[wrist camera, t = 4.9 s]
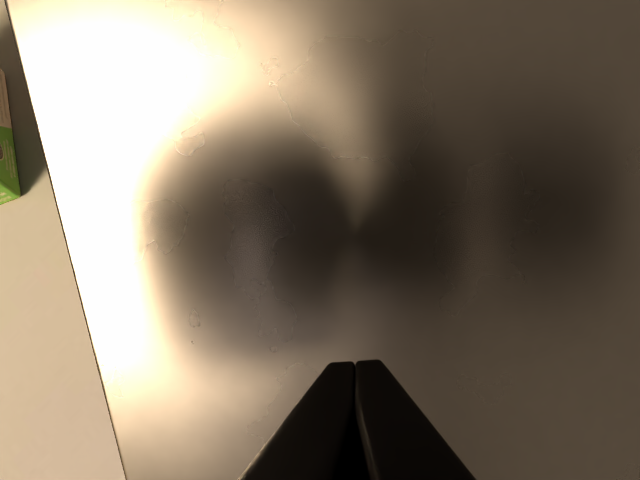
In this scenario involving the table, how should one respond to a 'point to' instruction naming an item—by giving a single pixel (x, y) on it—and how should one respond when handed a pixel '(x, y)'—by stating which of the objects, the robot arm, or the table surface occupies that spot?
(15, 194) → the ink box
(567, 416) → the box lid
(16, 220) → the table surface
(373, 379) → the robot arm
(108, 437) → the table surface
